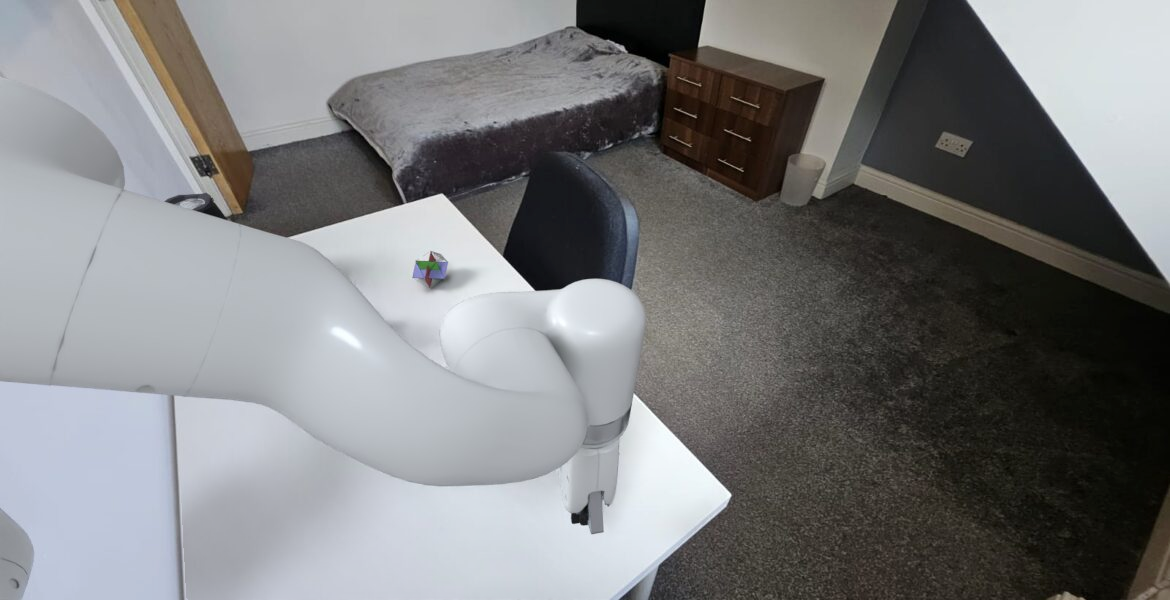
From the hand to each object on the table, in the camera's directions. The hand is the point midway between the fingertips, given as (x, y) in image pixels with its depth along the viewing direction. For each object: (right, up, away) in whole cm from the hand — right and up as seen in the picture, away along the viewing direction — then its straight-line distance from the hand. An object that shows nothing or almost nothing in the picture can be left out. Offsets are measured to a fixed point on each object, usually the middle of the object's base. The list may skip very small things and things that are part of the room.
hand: (581, 499), depth 54 cm
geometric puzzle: (-32, +27, +46) cm, 62 cm away
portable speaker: (-72, +26, +43) cm, 88 cm away
